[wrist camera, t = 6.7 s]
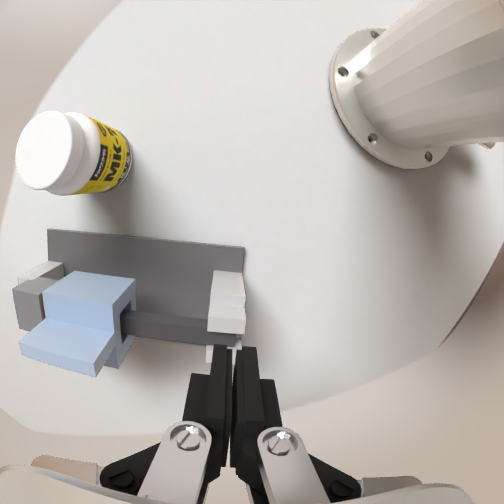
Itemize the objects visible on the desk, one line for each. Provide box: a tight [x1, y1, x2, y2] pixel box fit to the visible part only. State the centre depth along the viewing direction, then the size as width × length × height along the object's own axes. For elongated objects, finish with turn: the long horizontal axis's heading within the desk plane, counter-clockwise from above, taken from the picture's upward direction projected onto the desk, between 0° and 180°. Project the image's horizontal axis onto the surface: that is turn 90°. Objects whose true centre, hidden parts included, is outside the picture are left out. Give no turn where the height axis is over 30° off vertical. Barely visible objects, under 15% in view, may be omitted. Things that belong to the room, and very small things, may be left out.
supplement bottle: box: [16, 111, 132, 196], centre depth 14 cm, size 5×5×8 cm
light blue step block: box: [19, 271, 136, 377], centre depth 14 cm, size 5×4×7 cm
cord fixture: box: [12, 229, 246, 365], centre depth 17 cm, size 16×8×7 cm, turn 83°
